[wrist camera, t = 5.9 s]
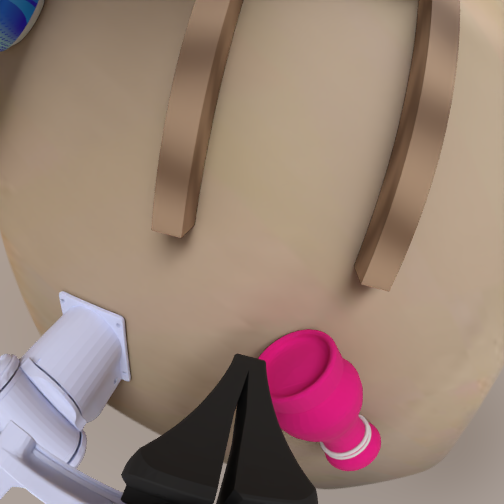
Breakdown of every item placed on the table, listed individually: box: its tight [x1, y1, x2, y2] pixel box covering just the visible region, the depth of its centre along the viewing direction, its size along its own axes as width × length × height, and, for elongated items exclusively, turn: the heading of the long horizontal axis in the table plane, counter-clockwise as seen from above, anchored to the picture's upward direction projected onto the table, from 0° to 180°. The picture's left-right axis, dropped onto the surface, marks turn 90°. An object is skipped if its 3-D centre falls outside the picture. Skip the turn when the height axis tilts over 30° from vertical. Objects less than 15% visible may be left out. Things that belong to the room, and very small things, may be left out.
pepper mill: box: [258, 329, 381, 471], centre depth 21 cm, size 7×7×20 cm
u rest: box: [151, 0, 460, 291], centre depth 12 cm, size 24×15×2 cm, turn 168°
